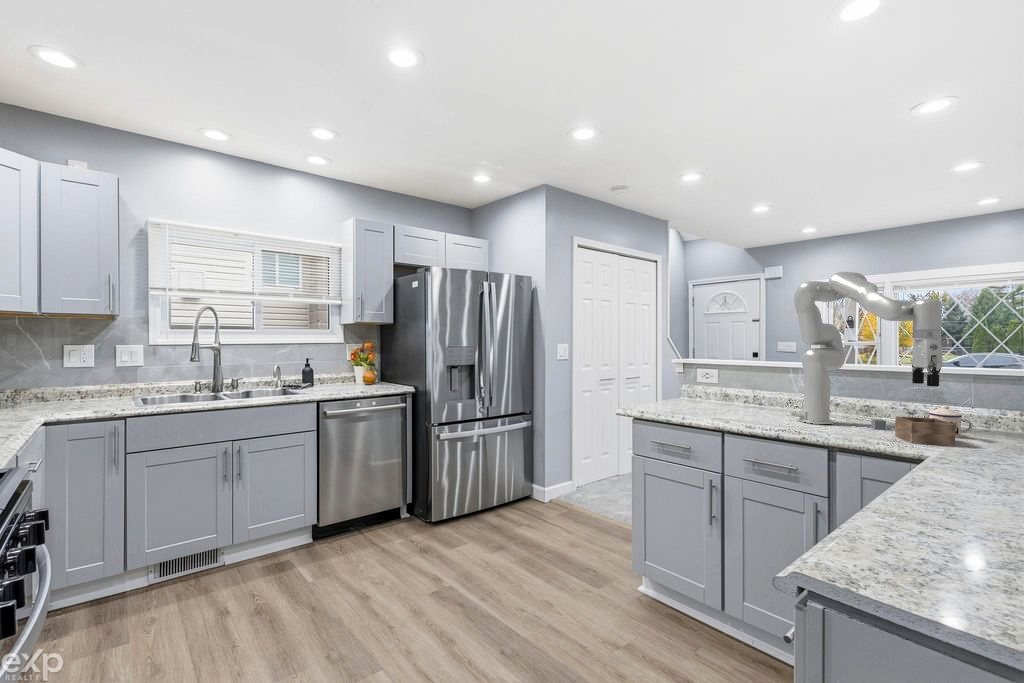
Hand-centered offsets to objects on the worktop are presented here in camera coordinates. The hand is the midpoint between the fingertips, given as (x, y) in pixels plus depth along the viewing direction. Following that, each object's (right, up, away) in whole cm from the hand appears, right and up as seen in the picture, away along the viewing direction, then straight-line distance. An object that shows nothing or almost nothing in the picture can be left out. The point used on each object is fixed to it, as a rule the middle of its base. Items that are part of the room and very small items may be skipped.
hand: (925, 384), depth 167 cm
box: (0, -20, 0) cm, 20 cm away
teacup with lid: (+17, -21, +10) cm, 28 cm away
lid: (0, -21, +21) cm, 30 cm away
